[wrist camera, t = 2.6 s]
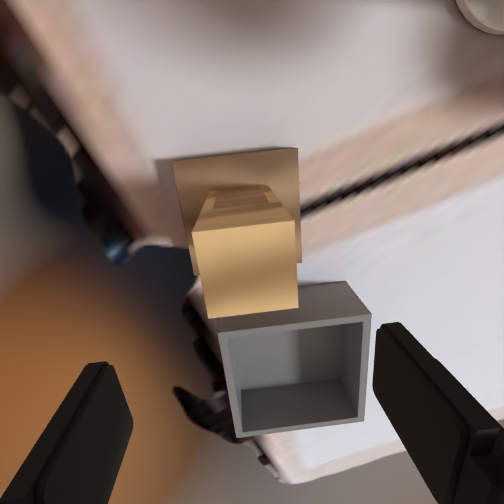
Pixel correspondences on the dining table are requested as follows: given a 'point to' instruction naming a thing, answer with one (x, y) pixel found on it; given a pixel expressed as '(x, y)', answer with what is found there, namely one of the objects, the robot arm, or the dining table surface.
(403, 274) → the dining table surface
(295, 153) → the stud block
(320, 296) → the charcoal bin
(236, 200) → the oak strut
